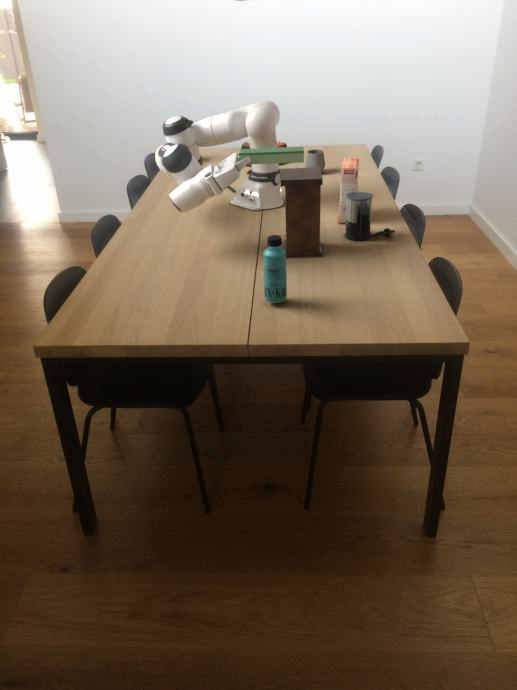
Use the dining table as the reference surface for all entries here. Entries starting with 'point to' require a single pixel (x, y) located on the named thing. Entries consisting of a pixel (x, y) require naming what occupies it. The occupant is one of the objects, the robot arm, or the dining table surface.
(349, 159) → the cracker box
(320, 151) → the cup
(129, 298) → the dining table surface
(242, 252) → the dining table surface
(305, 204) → the walnut stand
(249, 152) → the green rectangular bar
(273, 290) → the beverage bottle
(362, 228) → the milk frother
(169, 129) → the robot arm
